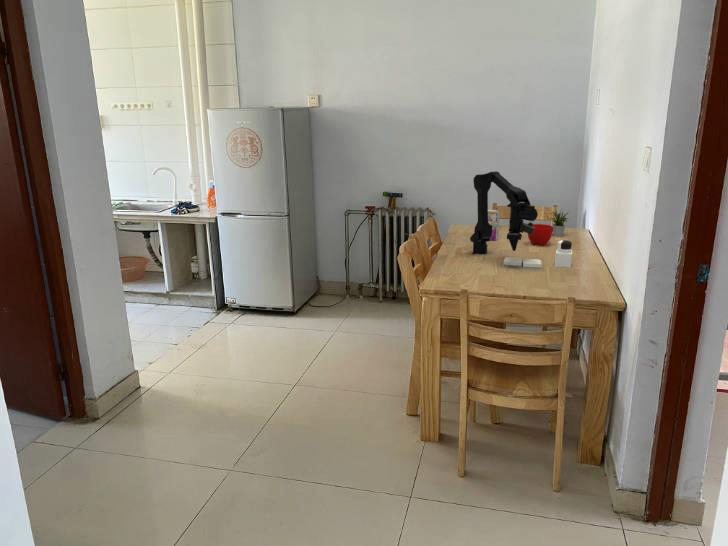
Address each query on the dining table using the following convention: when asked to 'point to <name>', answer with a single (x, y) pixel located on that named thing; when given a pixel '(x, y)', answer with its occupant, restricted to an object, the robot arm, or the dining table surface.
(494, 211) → the candy bar box
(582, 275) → the dining table surface
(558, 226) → the house plant
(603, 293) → the dining table surface
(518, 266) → the mat
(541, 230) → the ceramic cup
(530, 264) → the flat tile
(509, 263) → the tile
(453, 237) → the dining table surface
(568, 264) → the medicine bottle
